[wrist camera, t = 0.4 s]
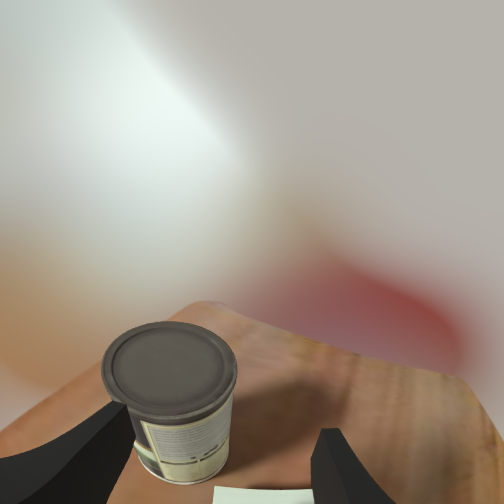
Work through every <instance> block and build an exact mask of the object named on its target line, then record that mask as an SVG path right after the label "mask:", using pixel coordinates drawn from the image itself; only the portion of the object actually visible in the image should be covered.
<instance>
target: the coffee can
mask: <svg viewBox="0 0 504 504" xmlns="http://www.w3.org/2000/svg"><path fill="white" fill-rule="evenodd" d="M101 375H102V380H103V383H104V385H105V388H106V390H107V392H108V394H109V395H110V397H111V399H112V401H117V402H120V403H124V404H127V408H128V412H129V415H130V418H131V422H132V425H133V428H134V431H135V434H136V439H135V442H134V445H133V446H134V448H135V450H136V452H137V454H138V457H139V459H140V461H141V462H142V464H143V465H144V467H145V468H146V469H147V470H148V471H149V472H150V473H152V474H153V475H154V476H156V477H158V478H160V479H161V480H164V481H166V482H169V483H173V484H180V485H190V484H196V483H200V482H204V481H206V480H208V479H210V478H212V477H213V476H215V475H216V474H217V473H218V472H219V471H220V470H221V469H222V468H223V466H224V465H225V463H226V461H227V458H228V454H229V433H230V424H231V412H232V402H233V390H234V386H235V383H236V378H237V362H236V358H235V356H234V353H233V352H232V350H231V348H230V347H229V346H228V345H227V343H226V342H225V341H224V340H223V339H221V338H220V337H219V336H217V335H216V334H215V333H213V332H211V331H209V330H207V329H205V328H203V327H200V326H197V325H193V324H189V323H183V322H174V321H162V322H154V323H148V324H145V325H141V326H138V327H135V328H133V329H130V330H128V331H126V332H125V333H123V334H122V335H120V336H119V337H118V338H116V339H115V340H114V341H113V342H112V344H111V345H110V346H109V347H108V349H107V350H106V352H105V354H104V356H103V359H102V364H101Z"/></svg>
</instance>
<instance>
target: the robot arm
mask: <svg viewBox="0 0 504 504" xmlns="http://www.w3.org/2000/svg"><path fill="white" fill-rule="evenodd" d="M135 439H136V434H135V431H134V428H133V425H132V422H131V418H130V415H129V412H128V408H127V404H124V403H120V402H117V401H111V402H110V403H108V404H107V405H106V406H104V407H103V408H101V409H100V410H99V411H97V412H96V413H95V414H93V415H92V416H90V417H89V418H87V419H86V420H85V421H83V422H82V423H80V424H79V425H77V426H76V427H74V428H73V429H71V430H70V431H68V432H66V433H65V434H63V435H61V436H59V437H58V438H56V439H54V440H52V441H50V442H48V443H46V444H44V445H42V446H40V447H37V448H35V449H32V450H30V451H27V452H24V453H20V454H17V455H14V456H10V457H5V458H0V504H106V503H107V500H108V498H109V496H110V494H111V492H112V490H113V488H114V486H115V484H116V482H117V480H118V478H119V476H120V474H121V472H122V470H123V469H124V467H125V465H126V463H127V461H128V459H129V457H130V454H131V451H132V448H133V445H134V442H135ZM311 484H312V491H313V498H314V504H396V503H395V502H394V501H393V500H392V499H391V498H390V497H389V496H388V495H387V494H386V493H385V492H384V491H383V490H382V489H381V488H380V487H379V485H378V484H377V483H376V482H375V481H374V479H373V478H372V477H371V476H370V474H369V473H368V472H367V470H366V469H365V468H364V466H363V465H362V464H361V462H360V461H359V459H358V458H357V457H356V455H355V454H354V452H353V451H352V449H351V447H350V446H349V444H348V443H347V441H346V439H345V438H344V436H343V434H342V433H341V431H340V429H338V428H326V429H321V432H320V435H319V438H318V440H317V443H316V446H315V449H314V451H313V454H312V456H311Z"/></svg>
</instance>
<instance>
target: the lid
mask: <svg viewBox="0 0 504 504" xmlns="http://www.w3.org/2000/svg"><path fill="white" fill-rule="evenodd" d="M213 504H314V498H313V491H312V489H304V490H255V489H239V488H228V487H219V486H215V489H214V497H213Z"/></svg>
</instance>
